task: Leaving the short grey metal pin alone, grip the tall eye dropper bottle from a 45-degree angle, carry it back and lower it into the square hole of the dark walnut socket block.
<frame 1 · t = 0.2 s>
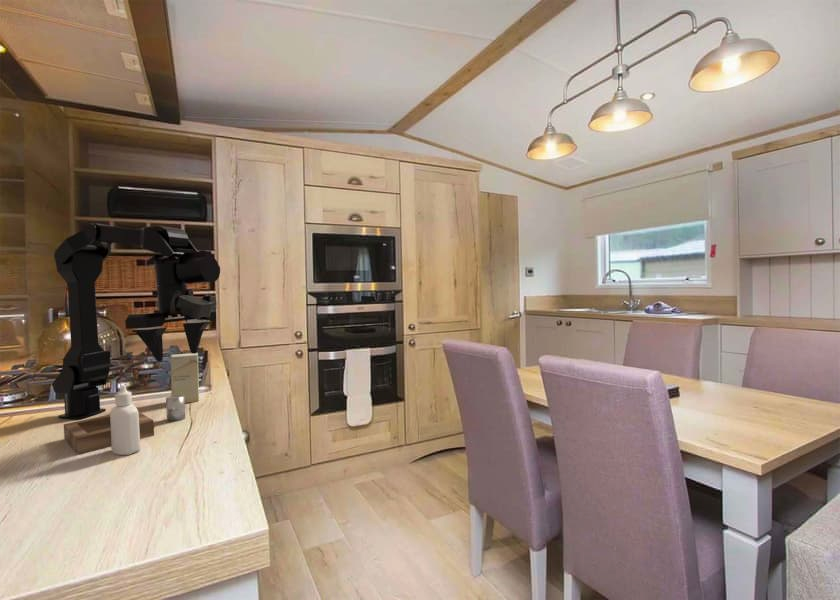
hand: (177, 357, 91), 14 cm above the countertop, tool pointing down, fingers open, 9 cm apart
eye dropper bottle: (126, 452, 76), on the countertop
skincare box: (186, 401, 108), on the countertop
socket block: (109, 437, 83), on the countertop
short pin: (176, 419, 94), on the countertop
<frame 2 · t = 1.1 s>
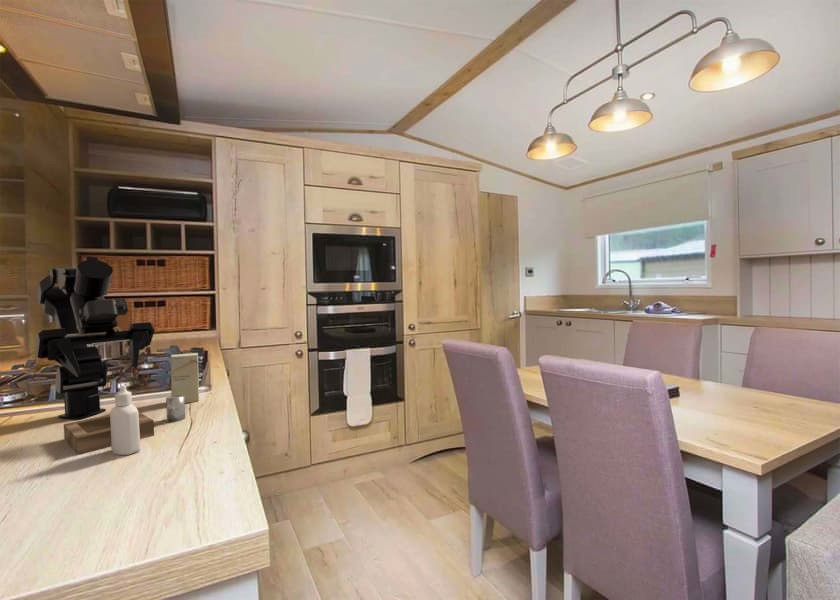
hand: (108, 371, 82), 13 cm above the countertop, tool tilted 45°, fingers open, 9 cm apart
nothing on the countertop moved.
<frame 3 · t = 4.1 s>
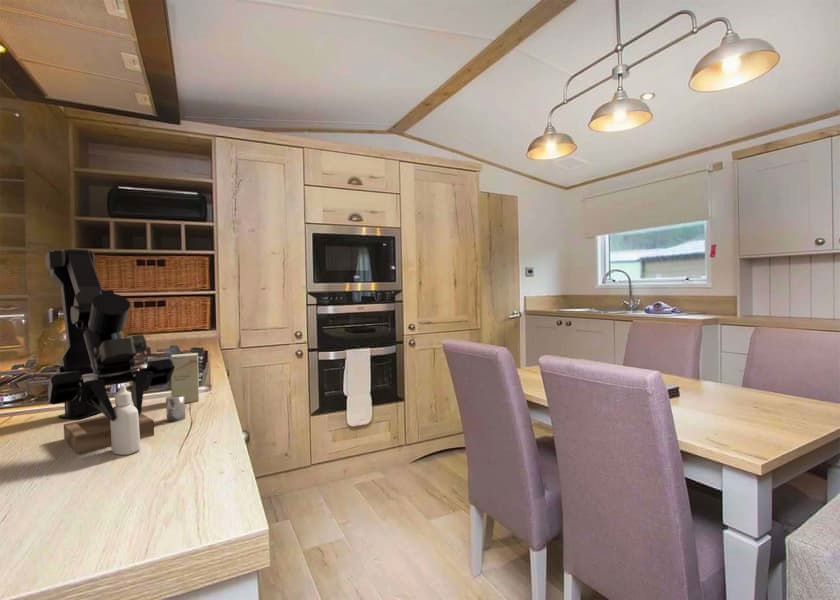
hand: (126, 416, 75), 7 cm above the countertop, tool tilted 45°, fingers closed on eye dropper bottle, 3 cm apart
eye dropper bottle: (126, 452, 76), on the countertop, touching gripper
everything else where it was.
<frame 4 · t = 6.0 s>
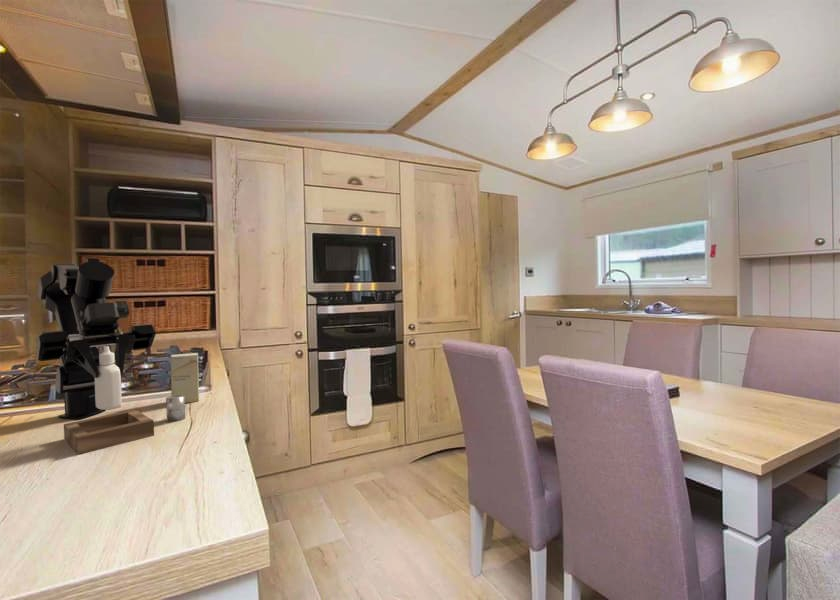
hand: (109, 374, 81), 13 cm above the countertop, tool tilted 45°, fingers closed on eye dropper bottle, 3 cm apart
eye dropper bottle: (108, 408, 82), point 6 cm above the countertop, touching gripper
everything else where it was.
when the fingers open (8 cm above the countertop, at t = 7.7 s): eye dropper bottle drops 1 cm, resting in socket block.
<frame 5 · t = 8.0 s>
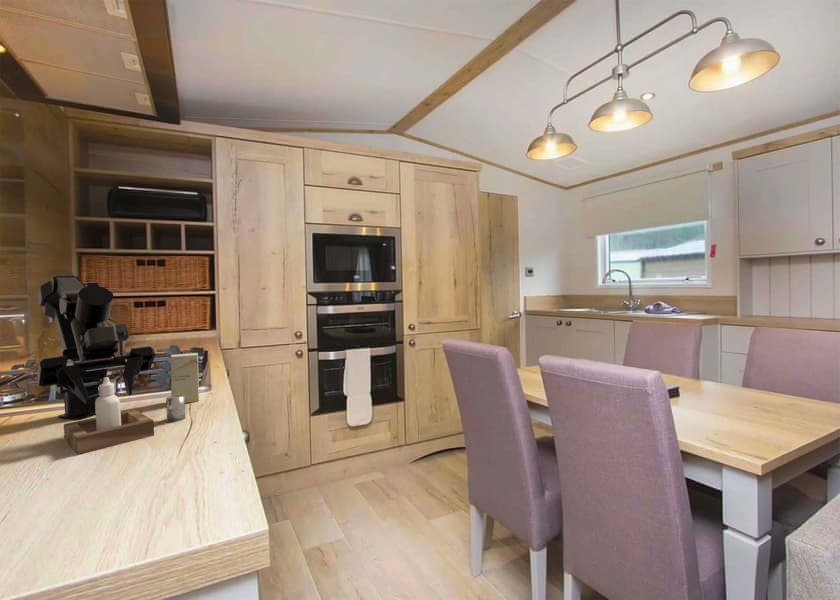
hand: (109, 398, 82), 8 cm above the countertop, tool tilted 45°, fingers open, 7 cm apart
eye dropper bottle: (109, 438, 83), resting in socket block
everything else where it was.
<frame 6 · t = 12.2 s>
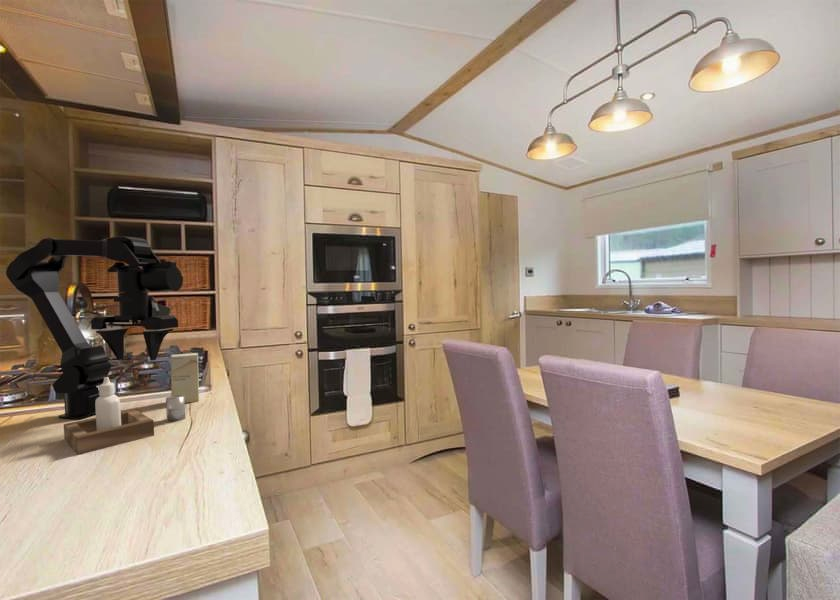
hand: (136, 359, 96), 13 cm above the countertop, tool pointing down, fingers open, 9 cm apart
nothing on the countertop moved.
at the end: eye dropper bottle 0.1 cm from the socket block (horizontally); eye dropper bottle resting in socket block; eye dropper bottle tilted 0° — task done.
